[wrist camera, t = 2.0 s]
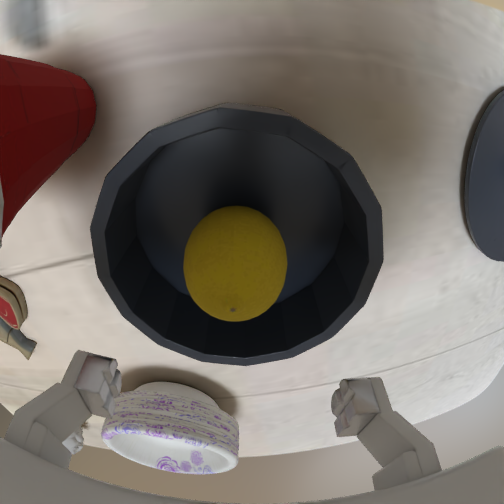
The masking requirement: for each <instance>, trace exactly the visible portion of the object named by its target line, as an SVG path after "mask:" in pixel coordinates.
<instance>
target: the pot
mask: <svg viewBox="0 0 504 504" xmlns="http://www.w3.org/2000/svg"><path fill="white" fill-rule="evenodd" d="M227 206H245V207H249V208H252V209H254V210H257V211H259V212H261V213H262V214H264V215H265V216H266V217H268V218H269V219H270V220H271V221H272V223H273V224H274V225H275V226H276V227H277V229H278V230H279V232H280V234H281V237H282V239H283V241H284V244H285V247H286V255H287V271H286V277H285V282H284V285H283V288H282V290H281V292H280V294H279V296H278V298H277V300H276V301H275V302H274V303H273V304H272V305H271V306H270V308H269V309H268V310H267V311H265V312H264V313H262V314H260V315H259V316H257V317H254V318H252V319H249V320H244V321H225V320H221V319H218V318H215V317H213V316H211V315H209V314H208V313H206V312H205V311H203V310H202V309H201V308H200V307H199V306H198V305H197V304H196V303H195V301H194V300H193V299H192V297H191V295H190V293H189V291H188V289H187V286H186V281H185V276H184V270H183V263H184V254H185V247H186V244H187V242H188V240H189V237H190V235H191V233H192V231H193V229H194V228H195V227H196V226H197V225H198V223H199V222H200V221H201V220H202V219H203V218H204V217H206V216H207V215H208V214H210V213H211V212H213V211H214V210H217V209H220V208H223V207H227ZM90 231H91V239H92V246H93V252H94V258H95V264H96V269H97V275H98V278H99V279H100V281H101V283H102V285H103V286H104V288H105V289H106V291H107V293H108V294H109V296H110V298H111V299H112V301H113V302H114V304H115V305H116V307H117V309H118V310H119V312H120V313H121V315H122V316H123V317H124V318H125V319H126V320H128V321H129V322H130V323H131V324H133V325H134V326H135V327H136V328H137V329H139V330H140V331H141V332H142V333H144V334H145V335H146V336H148V337H149V338H150V339H151V340H153V341H154V342H155V343H157V344H158V345H160V346H163V347H165V348H168V349H170V350H173V351H175V352H178V353H180V354H183V355H185V356H188V357H191V358H193V359H196V360H199V361H201V362H209V363H219V364H229V365H240V366H249V365H255V364H261V363H267V362H272V361H278V360H283V359H288V358H291V357H292V358H293V357H295V356H297V355H299V354H301V353H303V352H305V351H307V350H309V349H311V348H313V347H315V346H317V345H319V344H321V343H323V342H325V341H327V340H329V339H330V338H332V337H333V336H334V335H336V334H337V333H338V332H339V331H340V330H341V329H342V328H343V327H344V326H345V325H346V324H347V323H348V322H349V321H350V320H351V319H352V318H353V317H354V315H355V314H356V313H357V312H358V311H359V310H360V309H361V308H362V307H363V306H364V305H365V304H366V301H367V299H368V297H369V295H370V292H371V290H372V288H373V285H374V283H375V280H376V278H377V276H378V273H379V271H380V268H381V266H382V263H383V227H382V210H381V206H380V204H379V202H378V200H377V199H376V197H375V195H374V193H373V191H372V189H371V188H370V186H369V184H368V182H367V180H366V179H365V177H364V175H363V173H362V172H361V170H360V168H359V167H358V165H357V163H356V161H355V160H354V158H353V157H352V156H351V155H350V154H349V153H348V152H346V151H345V150H343V149H342V148H341V147H339V146H338V145H336V144H335V143H333V142H332V141H330V140H329V139H327V138H326V137H324V136H323V135H321V134H320V133H318V132H317V131H315V130H314V129H312V128H311V127H309V126H308V125H306V124H304V123H303V122H301V121H300V120H298V119H296V118H295V117H293V116H292V115H290V114H288V113H287V112H285V111H283V110H281V109H275V108H268V107H261V106H255V105H245V104H236V103H224V104H220V105H217V106H213V107H210V108H207V109H203V110H200V111H197V112H194V113H191V114H188V115H185V116H182V117H179V118H177V119H174V120H172V121H170V122H167V123H165V124H163V125H161V126H159V127H156V128H154V129H152V130H151V131H149V132H148V133H147V134H146V135H145V136H144V137H143V138H142V139H141V140H139V141H138V142H137V143H136V144H135V145H134V146H133V147H132V148H131V149H130V151H129V152H128V153H127V154H126V155H125V156H124V157H123V158H122V159H121V160H120V161H119V162H118V163H117V164H116V165H115V166H114V167H113V168H112V170H111V171H110V172H109V173H108V174H107V176H106V177H105V180H104V183H103V186H102V189H101V192H100V195H99V198H98V202H97V205H96V208H95V212H94V215H93V219H92V223H91V226H90Z"/></svg>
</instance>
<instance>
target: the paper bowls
mask: <svg viewBox="0 0 504 504" xmlns="http://www.w3.org/2000/svg"><path fill="white" fill-rule="evenodd" d="M114 400H115V403H116V407H115V411H114V414H113V418H112V419H110V418H106V419H105V422H104V425H103V427H102V432H101V436H102V439H103V441H104V442H105V444H106V445H107V446H108V447H109V448H111V449H112V450H113V451H115V452H117V453H118V454H120V455H122V456H124V457H126V458H128V459H130V460H132V461H135V462H138V463H140V464H143V465H146V466H149V467H153V468H157V469H161V470H165V471H172V472H178V473H187V474H214V473H220V472H225V471H228V470H231V469H232V468H234V467H235V466H236V465H237V463H238V450H239V426H238V423H237V422H236V420H235V419H234V418H232V417H231V416H230V415H229V414H227V413H226V412H224V411H223V410H221V409H219V407H218V405H217V403H216V402H215V401H214V400H213V399H212V398H210V397H209V396H208V395H206V394H205V393H203V392H201V391H199V390H197V389H194V388H192V387H189V386H186V385H182V384H177V383H171V382H152V383H147V384H144V385H141V386H139V387H138V388H136V389H135V390H134V391H127V392H122V393H120V394H119V396H117V397H116V398H114Z"/></svg>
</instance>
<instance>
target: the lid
mask: <svg viewBox="0 0 504 504" xmlns="http://www.w3.org/2000/svg"><path fill="white" fill-rule="evenodd" d="M465 213H466V219H467V224H468V228H469V231H470V234H471V236H472V239H473V241H474V243H475V244H476V245H477V247H478V248H479V249H480V250H481V251H482V252H483V253H484V254H485V255H486V256H487V257H489V258H490V259H493V260H496V261H503V262H504V90H503V91H502V92H500V93H499V94H498V95H497V96H496V97H495V98H494V99H493V100H492V102H491V103H490V104H489V106H488V108H487V109H486V111H485V112H484V114H483V116H482V118H481V120H480V122H479V125H478V127H477V130H476V133H475V135H474V139H473V142H472V145H471V149H470V154H469V158H468V163H467V170H466V177H465Z"/></svg>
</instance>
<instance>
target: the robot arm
mask: <svg viewBox="0 0 504 504" xmlns="http://www.w3.org/2000/svg"><path fill="white" fill-rule="evenodd" d="M117 366H118V363H117V361H116V359H113V358H109V357H105V356H101V355H97V354H92V353H89V352H85V351H81V350H78V351H77V352H76V353H75V354H74V356H73V358H72V360H71V362H70V365H69V367H68V369H67V371H66V373H65V375H64V378H63V380H62V382H61V384H60V383H56V384H55V385H53V386H52V387H50V388H49V389H48V390H46V391H45V392H43V393H42V394H40V395H39V396H37V397H36V398H34V399H33V400H31V401H30V402H28V403H27V404H25V405H24V406H22V407H21V408H19V409H18V410H16V411H15V413H14V416H13V418H12V420H11V423H10V425H9V428H8V430H7V433H6V435H5V438H4V439H3V438H1V437H0V504H240V503H219V502H207V501H197V500H188V499H181V498H175V497H168V496H163V495H157V494H152V493H148V492H142V491H138V490H134V489H130V488H125V487H122V486H118V485H115V484H111V483H108V482H104V481H101V480H98V479H94V478H91V477H89V476H86V475H82V474H80V473H77V472H74V471H72V470H69V469H68V467H69V463H70V459H71V456H72V455H71V452H70V451H69V450H68V449H67V448H66V447H65V446H64V445H63V444H62V442H64V441H65V440H66V439H67V438H68V437H69V436H70V435H71V434H72V433H73V432H74V431H75V430H77V429H78V428H79V427H80V426H81V425H82V424H83V423H84V422H85V421H86V420H87V419H88V418H90V417H91V416H92V414H93V415H97V416H101V417H105V418H110V419H112V418H113V414H114V411H115V407H116V403H115V400H114V398H116V397H117V396H119V394H120V391H121V385H122V376H121V373H120V371H119V370H118V369H117ZM339 386H340V388H339V389H337V390H335V392H334V394H333V395H332V400H331V408H332V413H333V414H334V415H335V416H336V417H337V419H336V420H335V422H334V424H335V429H336V434H337V437H344V436H356V435H358V436H357V437H358V439H359V440H360V441H361V442H362V443H363V445H364V446H365V447H366V448H367V449H368V451H369V452H370V453H371V454H372V455H373V457H374V458H375V459H376V460H377V461H378V462H379V464H380V465H381V466H382V467H383V468H382V469H381V470H379V471H378V472H376V473H375V474H374V475H373V476H372V478H373V484H374V489H375V491H372V492H367V493H362V494H357V495H352V496H346V497H340V498H333V499H325V500H318V501H307V502H296V503H275V504H504V447H502V446H497V447H494V448H492V449H490V450H488V451H486V452H484V453H482V454H480V455H478V456H476V457H474V458H471V459H469V460H467V461H465V462H462V463H460V464H457V465H455V466H453V467H450V468H448V469H445V470H441V467H440V463H439V460H438V457H437V454H436V451H435V448H434V445H433V443H432V442H430V441H429V440H428V439H427V438H426V437H425V436H424V435H422V434H421V433H420V432H419V431H418V430H416V428H414V427H413V426H412V425H411V424H410V423H409V422H408V421H407V420H406V419H404V418H403V417H402V416H401V415H400V414H399V413H398V412H397V411H393V410H392V407H391V404H390V401H389V398H388V395H387V393H386V390H385V387H384V384H383V381H382V379H381V378H380V377H371V378H367V377H366V378H350V379H343V380H341V382H340V384H339Z"/></svg>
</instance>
